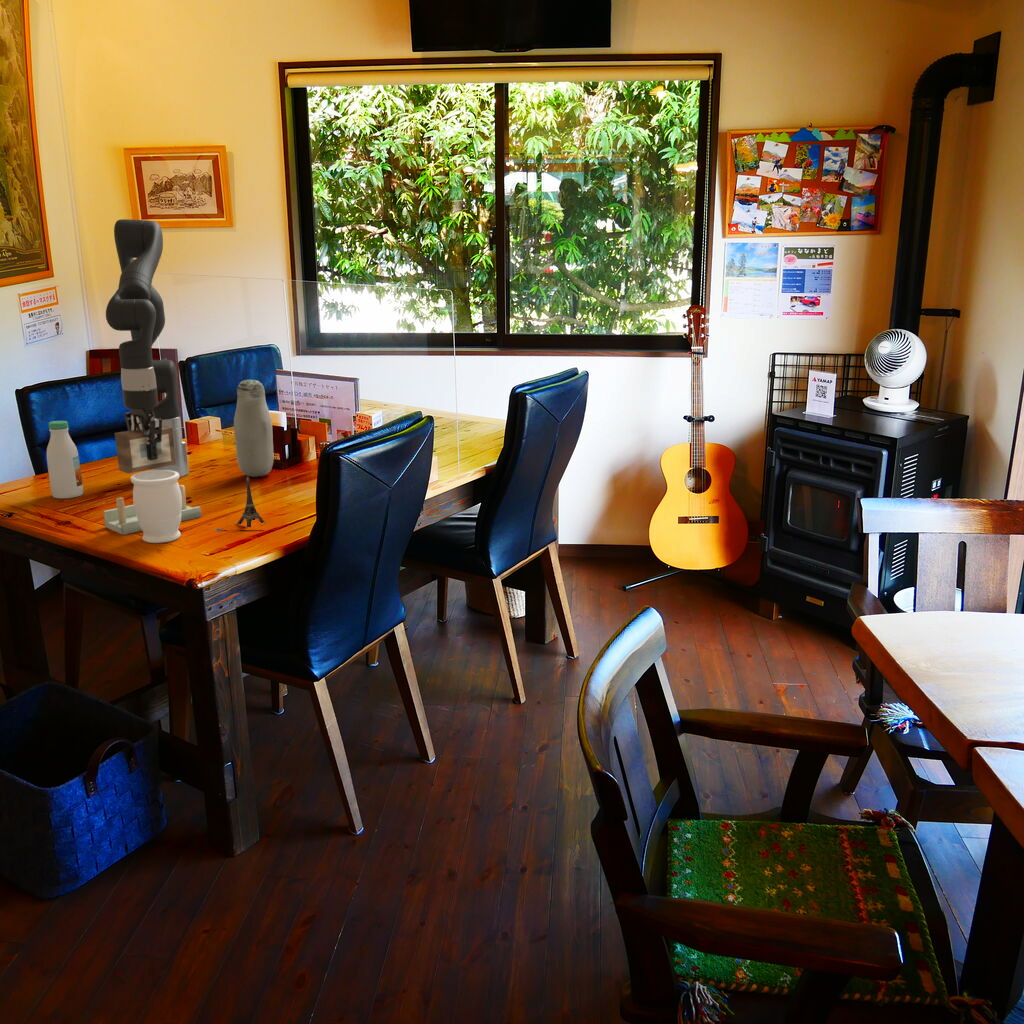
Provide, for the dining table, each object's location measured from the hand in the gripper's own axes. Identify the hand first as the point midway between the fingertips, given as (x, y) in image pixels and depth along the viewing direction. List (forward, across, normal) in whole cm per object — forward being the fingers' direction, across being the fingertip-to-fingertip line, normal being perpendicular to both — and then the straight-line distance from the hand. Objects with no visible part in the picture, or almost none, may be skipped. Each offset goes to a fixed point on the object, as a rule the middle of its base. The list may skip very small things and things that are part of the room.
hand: (147, 457), depth 220 cm
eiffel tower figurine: (+17, +19, +14) cm, 29 cm away
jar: (+16, +13, -5) cm, 21 cm away
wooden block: (+2, 0, 0) cm, 2 cm away
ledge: (+16, 0, 0) cm, 16 cm away
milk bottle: (+16, -39, -4) cm, 42 cm away
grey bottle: (+16, -20, +42) cm, 49 cm away
